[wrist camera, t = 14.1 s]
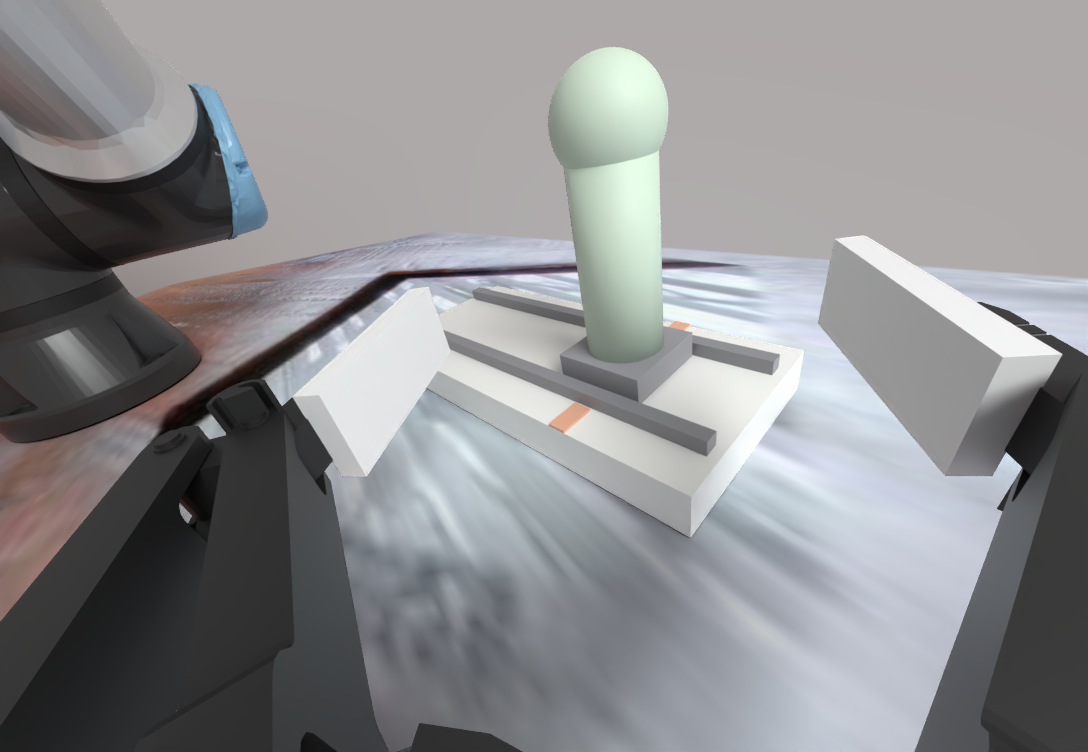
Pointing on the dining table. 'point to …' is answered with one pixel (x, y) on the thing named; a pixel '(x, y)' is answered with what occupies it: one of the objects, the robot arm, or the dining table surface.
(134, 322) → the robot arm
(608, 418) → the fader console
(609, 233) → the fader knob
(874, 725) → the dining table surface
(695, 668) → the dining table surface
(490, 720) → the dining table surface
